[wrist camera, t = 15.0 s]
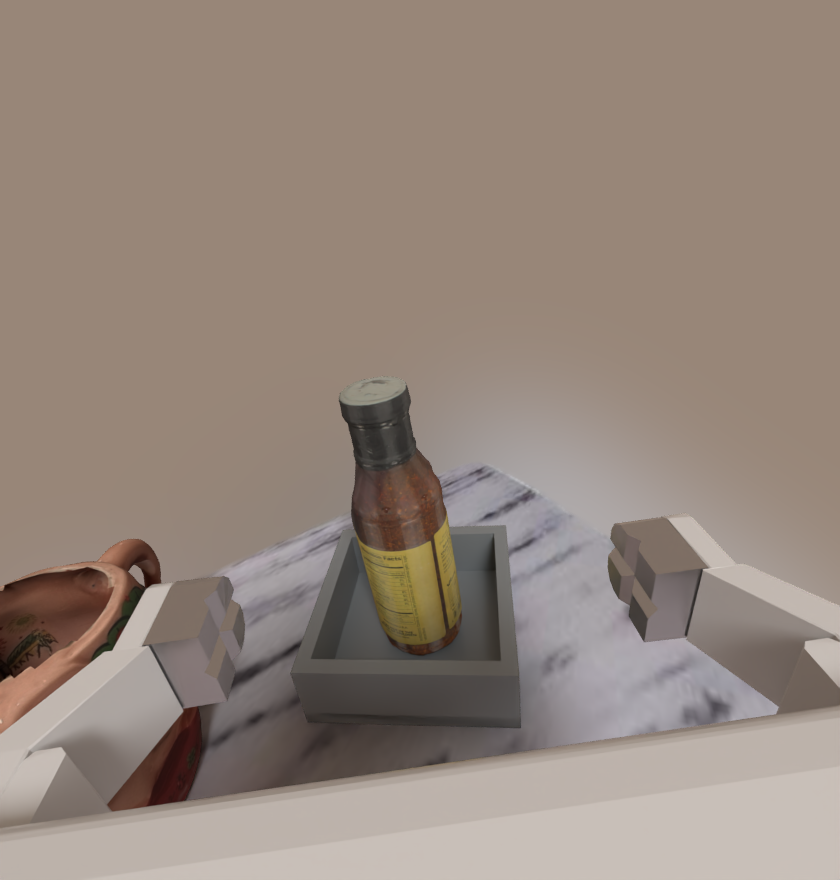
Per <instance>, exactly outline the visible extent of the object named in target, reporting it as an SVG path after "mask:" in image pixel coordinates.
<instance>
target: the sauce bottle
mask: <svg viewBox="0 0 840 880" xmlns="http://www.w3.org/2000/svg"><path fill="white" fill-rule="evenodd" d="M339 402H340V406H341V412H342V416H343V418H344V420H345V421H346V422H347V423H348V426H349V431H350V435H351V439H352V443H353V447H354V457H355V460H356V470H355V486H354V491H353V495H352V509H351V516H352V522H353V526H354V529H355V533H356V537H357V540H358V543H359V547H360V550H361V554H362V558H363V561H364V565H365V568H366V572H367V576H368V579H369V583H370V587H371V590H372V594H373V598H374V602H375V605H376V609H377V613H378V616H379V620H380V623H381V626H382V628H383V629H384V631H385V632H386V635H387V637H388V639H389V641H390V643H391V644H392V645H393V646H395V647H397V648H398V649H400V650H402V651H403V652H406V653H409V654H411V655H412V654H414V655H421V656H424V655H426V654H430V653H434V652H436V651H438V650H440V649H442V648H444V647H446V646H448V645H449V644H450V643H452V641H453V640H454V639H455V638H456V636H457V634H458V632H459V630H460V625H461V619H462V613H461V609H462V604H461V597H460V591H459V585H458V579H457V572H456V566H455V560H454V555H453V548H452V542H451V536H450V530H449V523H448V517H447V511H446V508H445V505H444V503H443V497H442V488H441V485H440V481H439V479H438V478H437V476H436V475H435V474H434V473H433V470H432V466H431V465H430V463H429V461H428V460H427V459H426V458H425V457H424V456H423V455H422V454H421V452H420V451H419V450H418V449H417V448H416V441H415V438H414V437H413V432H412V427H411V423H410V416H409V413H408V412H409V406H410V403H411V400H410V395H409V392H408V388H407V385H406V382H405V381H403V380H402V379H400V378H397V377H388V376H384V377H376V378H371V379H364V380H361V381H358V382H355V383H353V384H351V385H349V386H347V387H346V388H345V389H344V390H343V391H342V392H341V393H340V396H339Z"/></svg>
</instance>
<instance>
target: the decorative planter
mask: <svg viewBox="0 0 840 880" xmlns="http://www.w3.org/2000/svg"><path fill="white" fill-rule="evenodd" d="M133 565H136V566H138V567H139V568H141V570H142V572H143V574H144V582H145V587H144V586H143V585H141V584H139V583H138V582H137V581H136V579H135V578H134V577H133V576H132V575H131V574H130V573H129V572H128V571H129V570H130V568H131V567H132V566H133ZM160 577H161V572H160V564H159V561H158V559H157V556H156V554H155V553H154V551H153V550H152V548H151V547H150V546H149V545H148V544H147V543H145V542H144V541H142V540H139V539H127V540H123V541H121V542H119V543H117V544H115V545H113V546H112V547H110V548H109V549H108V550H107V551H106V552H105V553H104V554H103V555H102V556H101V557H100V559H99V560H98V561H97V562H94V561H93V562H81V563H76V564H70V565H66V566H59V567H52V568H47V569H43V570H40V571H37V572H34V573H31V574H29V575H26V576H24V577H21V578H19V579H17V580H15V581H13V582H10V583H8V584H6V585H4V586H1V587H0V734H1V733H3V732H4V731H5V730H6V729H8V728H9V727H10V726H11V725H13V724H14V723H15V722H17V721H18V720H19V719H20V718H22V717H23V716H24V715H25V714H27V713H28V712H29V711H30V710H32V709H33V708H34V707H35V706H37V705H38V704H39V703H40V702H42V701H43V700H44V699H46V698H47V697H48V696H49V695H51V694H52V693H53V692H54V691H56V690H57V689H58V688H59V687H61V686H62V685H63V684H64V683H66V682H67V681H68V680H69V679H71V678H72V677H73V676H74V675H76V674H77V673H78V672H80V671H81V670H82V669H83V668H85V667H86V666H87V665H88V664H90V663H91V662H92V661H93V660H95V659H96V658H97V657H98V656H100V655H101V654H102V653H103V652H107V651H112V650H113V648H114V646H115V644H116V643H117V641H118V639H119V637H120V635H121V634H122V632H123V630H124V628H125V626H126V625H127V623H128V621H129V619H130V617H131V615H132V614H133V612H134V610H135V608H136V606H137V605H138V603H139V601H140V599H141V597H142V596H143V594H144V592H145V590H146V589H147V588H149V587H150V586H151V585H154V584H161V579H160ZM201 742H202V733H201V720H200V714H199V709H198V706H196V707H190V708H184V709H183V712H182V714H181V715H180V716H179V717H178V719H177V720H176V721H175V722H174V723H173V725H172V726H171V727H170V728H169V729H168V731H167V732H166V733H165V734H164V736H163V737H162V738H161V739H160V740H159V742H158V743H157V744H156V745H155V747H154V748H153V749H152V750H151V751H150V753H149V754H148V755H147V756H146V758H145V759H144V760H143V761H142V762H141V764H140V765H139V766H138V767H137V768H136V770H135V771H134V772H133V773H132V775H131V776H130V777H129V778H128V779H127V781H126V782H125V783H124V784H123V786H122V787H121V788H120V789H119V790H118V792H117V793H116V794H115V795H114V797H113V798H112V799H111V800H110V801H109V803H108V804H107V805H108V807H109V808H110V809H111V810H112V812H114V811H120V810H127V809H134V808H141V807H148V806H155V805H161V804H168V803H175V802H182V801H184V800H185V798H186V796H187V793H188V791H189V789H190V786H191V784H192V781H193V778H194V775H195V772H196V769H197V765H198V761H199V756H200V751H201Z"/></svg>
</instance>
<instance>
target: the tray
mask: <svg viewBox="0 0 840 880" xmlns="http://www.w3.org/2000/svg"><path fill="white" fill-rule="evenodd" d="M449 530H450V536H451V542H452V548H453V555H454V560H455V566H456V572H457V579H458V585H459V591H460V597H461V604H462V609H461V613H462V619H461V625H460V630H459V632H458V634H457V636H456V638H455V639H454V640H453V641H452V643H450V644H449V645H448V646H446V647H444V648H442V649H440V650H438V651H436V652H434V653H430V654H426V655H424V656H421V655H414V654H412V655H411V654H409V653H406V652H403V651H402V650H400V649H398V648H397V647H395V646H393V645H392V644H391V643H390V641H389V639H388V637H387V635H386V632H385V631H384V629H383V628H382V626H381V623H380V620H379V616H378V613H377V609H376V605H375V602H374V598H373V594H372V590H371V587H370V583H369V579H368V576H367V572H366V568H365V565H364V561H363V558H362V554H361V550H360V547H359V543H358V540H357V537H356V533H355V530H343V531H342V534H341V537H340V539H339V542H338V545H337V548H336V550H335V553H334V556H333V558H332V561H331V564H330V567H329V569H328V572H327V575H326V577H325V580H324V583H323V586H322V588H321V591H320V594H319V596H318V599H317V602H316V605H315V607H314V610H313V613H312V616H311V618H310V621H309V624H308V626H307V629H306V632H305V635H304V637H303V640H302V643H301V645H300V648H299V651H298V654H297V656H296V659H295V662H294V664H293V667H292V670H291V676H292V679H293V682H294V685H295V687H296V690H297V693H298V696H299V699H300V701H301V704H302V707H303V710H304V713H305V715H306V718H307V721H308V722H320V723H357V724H393V725H430V726H467V727H503V728H521V721H520V685H519V668H518V656H517V645H516V634H515V623H514V611H513V600H512V589H511V578H510V566H509V555H508V544H507V533H506V525H501V526H466V527H449Z"/></svg>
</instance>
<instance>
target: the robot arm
mask: <svg viewBox="0 0 840 880" xmlns="http://www.w3.org/2000/svg"><path fill="white" fill-rule="evenodd" d="M610 539H611V541H612V542H613V544H614V545H615V548H614V549H613V551H612V552H611V553H610V554H609V556H608V572H609V578H610V581H611V584H612V587H613V589H614V591H615V593H616V595H617V597H618V598H619V599H620V600H621V601H623V602H625V603H626V604H628V605H630V609H629V617H630V619H631V621H632V622H633V624H634V626H635V627H636V629H637V631H638V633H639V634H640V636H641V638H642V639H643V641H644V642H651V641H660V640H669V639H677V638H686V637H687V639H686V640H688V641H689V642H690V643H692V644H693V645H694V646H696V647H697V648H699V649H700V650H701V651H703V652H704V653H705V654H707V655H708V656H710V657H711V658H712V659H714V660H715V661H717V662H718V663H719V664H721V665H722V666H723V667H725V668H726V669H728V670H729V671H730V672H732V673H733V674H734V675H736V676H737V677H739V678H740V679H741V680H743V681H744V682H746V683H747V684H748V685H750V686H751V687H752V688H754V689H755V690H757V691H758V692H759V693H761V694H762V695H763V696H765V697H766V698H768V699H769V700H770V701H772V702H773V703H775V704H776V705H777V706H779V708H778V711H777V713H776V715H769V716H762V717H755V718H748V719H742V720H735V721H728V722H721V723H714V724H707V725H701V726H694V727H687V728H680V729H673V730H667V731H660V732H653V733H646V734H639V735H632V736H626V737H619V738H612V739H605V740H598V741H592V742H585V743H578V744H571V745H564V746H557V747H551V748H544V749H537V750H530V751H524V752H517V753H510V754H503V755H497V756H490V757H483V758H476V759H470V760H463V761H456V762H449V763H442V764H436V765H429V766H422V767H415V768H409V769H402V770H395V771H388V772H381V773H374V774H367V775H360V776H353V777H347V778H340V779H333V780H326V781H319V782H312V783H305V784H298V785H291V786H285V787H278V788H271V789H264V790H257V791H250V792H243V793H236V794H229V795H223V796H216V797H209V798H202V799H195V800H189V801H182V802H175V803H168V804H161V805H155V806H148V807H141V808H134V809H127V810H120V811H114V812H112V810H111V809H110V808H109V807H108V805H107V804H108V803H109V801H110V800H111V799H112V798H113V797H114V795H115V794H116V793H117V792H118V790H119V789H120V788H121V787H122V786H123V784H124V783H125V782H126V781H127V779H128V778H129V777H130V776H131V775H132V773H133V772H134V771H135V770H136V768H137V767H138V766H139V765H140V764H141V762H142V761H143V760H144V759H145V758H146V756H147V755H148V754H149V753H150V751H151V750H152V749H153V748H154V747H155V745H156V744H157V743H158V742H159V740H160V739H161V738H162V737H163V736H164V734H165V733H166V732H167V731H168V729H169V728H170V727H171V726H172V725H173V723H174V722H175V721H176V720H177V719H178V717H179V716H180V715H181V714H182V712H183V709H184V708H190V707H196V706H202V705H208V704H213V703H219V702H225V701H227V700H228V696H229V693H230V689H231V685H232V682H233V678H234V675H235V671H236V670H235V668H234V666H233V663H232V660H233V659H234V658H235V657H236V656H237V655H238V654H239V653H240V652H241V649H242V645H243V641H244V631H245V623H244V617H243V613H242V610H241V607H240V605H239V604H237V603H236V602H234V601H233V600H231V597H232V594H233V591H234V589H233V587H232V584H231V582H230V580H229V578H227V577H225V576H222V577H213V578H204V579H195V580H186V581H177V582H172V583H163V584H154V585H151V586H150V587H149V588H147V589H146V590H145V592H144V594H143V596H142V597H141V599H140V601H139V603H138V605H137V606H136V608H135V610H134V612H133V614H132V615H131V617H130V619H129V621H128V623H127V625H126V626H125V628H124V630H123V632H122V634H121V635H120V637H119V639H118V641H117V643H116V644H115V646H114V648H113V650H112V651H107V652H103V653H102V654H101V655H100V656H98V657H97V658H96V659H95V660H93V661H92V662H91V663H90V664H88V665H87V666H86V667H85V668H83V669H82V670H81V671H80V672H78V673H77V674H76V675H74V676H73V677H72V678H71V679H69V680H68V681H67V682H66V683H64V684H63V685H62V686H61V687H59V688H58V689H57V690H56V691H54V692H53V693H52V694H51V695H49V696H48V697H47V698H46V699H44V700H43V701H42V702H40V703H39V704H38V705H37V706H35V707H34V708H33V709H32V710H30V711H29V712H28V713H27V714H25V715H24V716H23V717H22V718H20V719H19V720H18V721H17V722H15V723H14V724H13V725H11V726H10V727H9V728H8V729H6V730H5V731H4V732H3V733H1V734H0V880H840V606H839V605H836V604H834V603H832V602H830V601H827V600H825V599H823V598H820V597H818V596H816V595H814V594H812V593H809V592H807V591H805V590H802V589H800V588H798V587H796V586H793V585H791V584H789V583H787V582H784V581H782V580H780V579H778V578H775V577H773V576H771V575H769V574H766V573H764V572H762V571H759V570H757V569H755V568H753V567H751V566H748V565H746V564H739V565H737V564H736V563H735V562H734V561H733V560H732V559H731V558H730V557H729V556H728V555H727V554H726V553H725V551H724V550H723V549H722V548H721V547H719V545H718V544H717V543H716V542H715V541H714V540H713V539H712V538H711V537H710V536H709V535H708V534H707V532H706V531H705V530H704V529H703V528H702V527H701V526H700V525H699V524H698V523H697V522H696V521H695V520H694V519H693V518H692V517H691V516H690V515H688V514H685V513H683V514H676V515H669V516H663V517H660V518H652V519H645V520H638V521H631V522H623V523H616V524H614V526H613V528H612V530H611V538H610Z"/></svg>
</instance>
